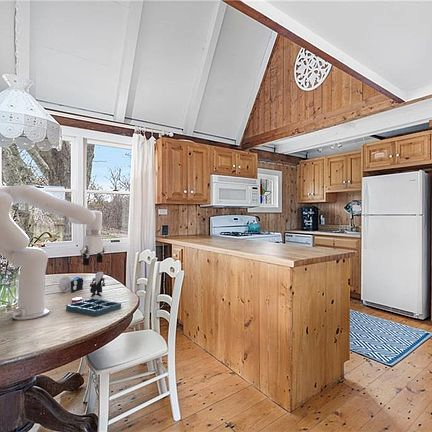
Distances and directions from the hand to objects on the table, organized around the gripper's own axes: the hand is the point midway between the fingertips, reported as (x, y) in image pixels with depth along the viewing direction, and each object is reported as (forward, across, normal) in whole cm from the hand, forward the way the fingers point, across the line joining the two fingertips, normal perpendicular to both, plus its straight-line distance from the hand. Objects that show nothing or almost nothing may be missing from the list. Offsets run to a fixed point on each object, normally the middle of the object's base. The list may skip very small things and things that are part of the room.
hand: (93, 263), depth 167 cm
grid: (+20, +14, +13) cm, 28 cm away
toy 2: (+20, -13, -6) cm, 25 cm away
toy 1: (+20, -15, -26) cm, 36 cm away
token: (+20, +8, -2) cm, 22 cm away
